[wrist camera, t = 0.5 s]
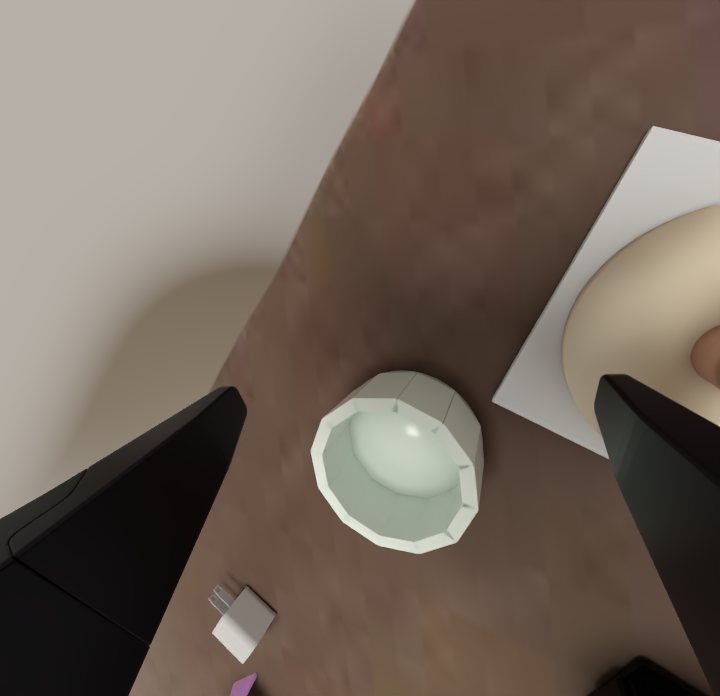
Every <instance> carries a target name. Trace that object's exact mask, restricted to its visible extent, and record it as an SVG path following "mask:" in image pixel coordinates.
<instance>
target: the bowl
mask: <svg viewBox="0 0 720 696" xmlns="http://www.w3.org/2000/svg"><path fill="white" fill-rule="evenodd" d="M311 455H312V460H313V465H314V470H315V475H316V479H317V484H318V487H319V490H320V491H321V492H322V494H323V495H324V497H325V498H326V499H327V501H328V502H329V504H330V505H331V507H332V508H333V509H334V511H335V512H336V514H337V515H338V516H339V518H340V519H341V521H343V522H344V523H345V524H347V525H348V526H350V527H351V528H353V529H354V530H356V531H357V532H359V533H360V534H362V535H363V536H364V537H366V538H367V539H369V540H370V541H372V542H373V543H375V544H376V545H379V546H382V547H387V548H392V549H397V550H402V551H407V552H411V553H416V554H419V553H420V554H421V553H425V552H428V551H431V550H434V549H438V548H441V547H444V546H447V545H451V544H454V543H456V542H458V540H459V539H460V537H461V536H462V534H463V533H464V531H465V530H466V528H467V527H468V525H469V524H470V522H471V521H472V519H473V518H474V516H475V515H476V513H477V512H478V510H479V501H480V493H481V485H482V476H483V468H484V456H483V437H482V431H481V426H480V424H479V422H478V420H477V418H476V416H475V414H474V412H473V411H472V409H471V407H470V406H469V405H468V403H467V402H466V401H465V400H464V399H463V397H462V396H461V395H459V394H458V393H457V392H456V391H455V390H454V389H453V388H451V387H450V386H449V385H447V384H446V383H444V382H442V381H440V380H439V379H437V378H434V377H432V376H430V375H427V374H423V373H420V372H415V371H404V370H399V371H390V372H386V373H380V374H378V375H376V376H375V377H373V378H371V379H370V380H368V381H367V382H365V383H364V384H363V385H361V386H360V387H358V388H357V389H355V390H354V391H353V392H351V393H350V394H349V395H348V396H347V397H346V398H345V399H344V400H342V401H341V402H340V403H339V404H338V405H337V406H336V407H335V408H333V409H332V410H331V411H330V412H329V413H328V414H327V415H326V416H324V417H323V418H322V420H321V423H320V426H319V429H318V432H317V434H316V437H315V440H314V443H313V446H312V449H311Z"/></svg>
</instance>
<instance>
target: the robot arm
mask: <svg viewBox="0 0 720 696" xmlns="http://www.w3.org/2000/svg"><path fill="white" fill-rule="evenodd" d="M594 411H595V415H596V419H597V422H598V425H599V428H600V431H601V434H602V438H603V441H604V444H605V447H606V450H607V454H608V457H609V460H610V463H611V466H612V469H613V472H614V475H615V478H616V481H617V483H618V485H619V488H620V490H621V492H622V495H623V497H624V499H625V501H626V503H627V505H628V508H629V510H630V512H631V514H632V516H633V519H634V521H635V523H636V525H637V527H638V530H639V532H640V534H641V536H642V538H643V541H644V543H645V545H646V547H647V549H648V552H649V554H650V556H651V558H652V560H653V562H654V565H655V567H656V569H657V571H658V573H659V576H660V578H661V580H662V582H663V584H664V587H665V589H666V591H667V593H668V595H669V598H670V600H671V602H672V604H673V606H674V609H675V611H676V613H677V615H678V617H679V619H680V622H681V624H682V626H683V628H684V630H685V633H686V635H687V637H688V639H689V641H690V644H691V646H692V648H693V650H694V652H695V655H696V657H697V659H698V661H699V663H700V666H701V668H702V670H703V672H704V674H705V676H706V679H707V681H708V683H709V685H710V687H711V690H712V692H713V694H714V696H720V426H718V425H716V424H714V423H713V422H711V421H709V420H707V419H706V418H704V417H702V416H700V415H698V414H697V413H695V412H693V411H691V410H690V409H688V408H686V407H684V406H683V405H681V404H679V403H677V402H675V401H674V400H672V399H670V398H668V397H667V396H665V395H663V394H661V393H659V392H658V391H656V390H654V389H652V388H651V387H649V386H647V385H645V384H643V383H642V382H640V381H638V380H636V379H635V378H633V377H631V376H629V375H627V374H604V375H602V376H601V378H600V380H599V384H598V388H597V393H596V397H595V401H594ZM246 416H247V407H246V405H245V403H244V401H243V399H242V397H241V395H240V393H239V392H238V390H237V389H236V388H235V387H233V386H224V387H219V388H218V389H216V390H214V391H213V392H211V393H209V394H208V395H206V396H205V397H203V398H201V399H200V400H198V401H196V402H195V403H193V404H191V405H190V406H188V407H186V408H185V409H183V410H182V411H180V412H178V413H177V414H175V415H173V416H172V417H170V418H169V419H167V420H165V421H164V422H162V423H160V424H159V425H157V426H155V427H154V428H152V429H150V430H149V431H147V432H146V433H144V434H142V435H141V436H139V437H137V438H136V439H134V440H132V441H131V442H129V443H128V444H126V445H124V446H123V447H121V448H119V449H118V450H116V451H114V452H113V453H111V454H110V455H108V456H107V457H105V458H103V459H101V460H100V461H98V462H96V463H95V464H93V465H92V466H90V467H89V468H88V469H85V470H83V471H82V472H80V473H78V474H77V475H75V476H73V477H72V478H70V479H69V480H67V481H65V482H64V483H62V484H60V485H58V486H57V487H55V488H54V489H52V490H50V491H48V492H47V493H45V494H43V495H42V496H40V497H38V498H36V499H35V500H33V501H31V502H29V503H28V504H26V505H24V506H22V507H21V508H19V509H17V510H15V511H14V512H12V513H10V514H8V515H6V516H5V517H3V518H1V519H0V696H128V695H129V693H130V691H131V689H132V686H133V684H134V682H135V680H136V677H137V675H138V673H139V670H140V668H141V666H142V664H143V661H144V659H145V657H146V655H147V652H148V650H149V648H150V646H149V645H150V644H151V643H152V640H153V638H154V636H155V634H156V631H157V629H158V627H159V625H160V622H161V620H162V618H163V616H164V613H165V611H166V609H167V607H168V604H169V602H170V600H171V598H172V595H173V593H174V591H175V589H176V586H177V584H178V582H179V579H180V577H181V575H182V573H183V570H184V568H185V566H186V564H187V561H188V559H189V557H190V555H191V552H192V550H193V548H194V546H195V543H196V541H197V539H198V537H199V534H200V532H201V530H202V528H203V525H204V523H205V521H206V518H207V516H208V514H209V512H210V509H211V507H212V505H213V503H214V500H215V498H216V496H217V494H218V491H219V489H220V487H221V485H222V482H223V480H224V478H225V476H226V473H227V471H228V469H229V466H230V464H231V461H232V458H233V455H234V452H235V449H236V446H237V443H238V440H239V437H240V434H241V431H242V428H243V425H244V422H245V419H246ZM591 696H704V695H703V694H701V693H700V692H698V691H696V690H695V689H693V688H692V687H690V686H688V685H687V684H685V683H684V682H682V681H680V680H679V679H677V678H676V677H674V676H672V675H671V674H669V673H668V672H666V671H664V670H663V669H661V668H660V667H658V666H656V665H655V664H653V663H652V662H650V661H648V660H645V659H637V660H636V661H634V662H633V663H632V664H631V665H629V666H628V667H627V668H625V669H624V670H623V671H622V672H620V673H619V674H618V675H617V676H615V677H614V678H613V679H612V680H610V681H609V682H608V683H606V684H605V685H604V686H603V687H601V688H600V689H599V690H598V691H596V692H595V693H594V694H592V695H591Z"/></svg>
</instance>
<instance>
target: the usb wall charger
mask: <svg viewBox="0 0 720 696" xmlns="http://www.w3.org/2000/svg"><path fill="white" fill-rule="evenodd" d="M216 588H220V592H216ZM213 591H214V592H215V593H216V594H217V595H218V597H219V598H220V599H221V600H222V601H223V602H225V603H226V604H227V605H228V606H229V607H230V608H228V607H227V606H226V605H225V604H224V603H223V602H222V601H221V600H220V599H219V598H218V597H217V596H215V595H214V594H212V595H211V596H210V597H209V598H208V599H209V601H210V602H211V603H212V604H213V605H214V606H215V607H216V608H217V609H218V610H219V611H220V612H221V613H222V614H223V617H222V618H221V620H220V621H219V623H218V624H217V626H216V628H215V629H214V631H213V632H212V633H213V634H214V635H215V636H216V637H217V638H218V640H219V641H220V642H221V643H222V644H223V645H224V646H225V647H226V648H227V649H228V650H229V651H230V652H231V653H232V654H233V655H234V656H235V657H236V658H237V659H238V660H239V661H240V662H241V663H242V664H243V663H244V662H245V661H246V659H247V658H248V657H249V655H250V654H251V653H252V651H253V650H254V648H255V647H256V645H257V644H258V642H259V641H260V639H261V638H262V636H263V635H264V633H265V632H266V630H267V628H268V627H269V625H270V624H271V622H272V621H273V619H274V618H275V616H276V613H275V612H274V611H273V610H272V609H271V608H270V607H269V606H268V605H267V604H265V603H264V602H263V601H262V600H261V599H260V598H259V597H258V596H257V595H256V594H255V593H254V592H253V591H252V590H251V589H250V588H249V587H248V586H246V587H245V589H244V590H243V591H242V593H241V594H240V595H239V596H238V598H237V599H236V600H234V599H233V598H232V597H231V596H230V595H229V594H228V593H227V592H226V591H225V590H224V589H223V588H222V587H220V586H219V585H217V586H216V587H215V588H214V589H213ZM211 597H215V600H214V601H212V600H211Z"/></svg>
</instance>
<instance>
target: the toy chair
mask: <svg viewBox="0 0 720 696" xmlns="http://www.w3.org/2000/svg"><path fill="white" fill-rule="evenodd" d="M257 676H258V674H257V673H254V674H251V675H249V676H247V677H245V678H243V679H241V680H239V681H236V682H234V684H233V687H232V690H231V694H230V696H247V695H248V693H249V691H250V689H251V687H252V685H253V683H254V681H255V679H256V678H257Z"/></svg>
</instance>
